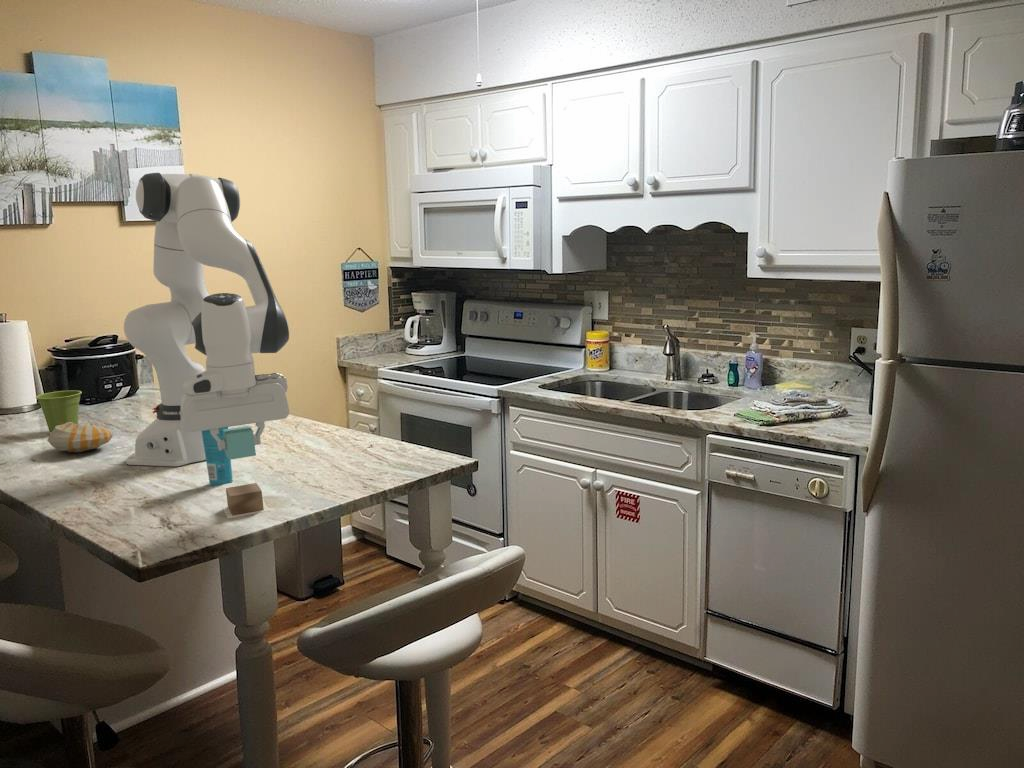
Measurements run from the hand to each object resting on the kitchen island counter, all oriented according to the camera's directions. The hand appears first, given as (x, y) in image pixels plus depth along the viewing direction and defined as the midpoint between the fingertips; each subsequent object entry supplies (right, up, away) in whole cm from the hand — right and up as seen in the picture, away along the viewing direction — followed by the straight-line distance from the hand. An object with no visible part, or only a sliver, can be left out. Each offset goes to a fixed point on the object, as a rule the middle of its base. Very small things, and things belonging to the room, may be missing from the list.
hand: (239, 446), depth 165 cm
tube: (-11, -10, +22) cm, 27 cm away
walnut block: (0, -13, +3) cm, 13 cm away
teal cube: (0, -2, 0) cm, 2 cm away
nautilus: (-62, -5, +58) cm, 85 cm away
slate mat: (0, -13, +3) cm, 13 cm away
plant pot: (-77, -2, +79) cm, 110 cm away
